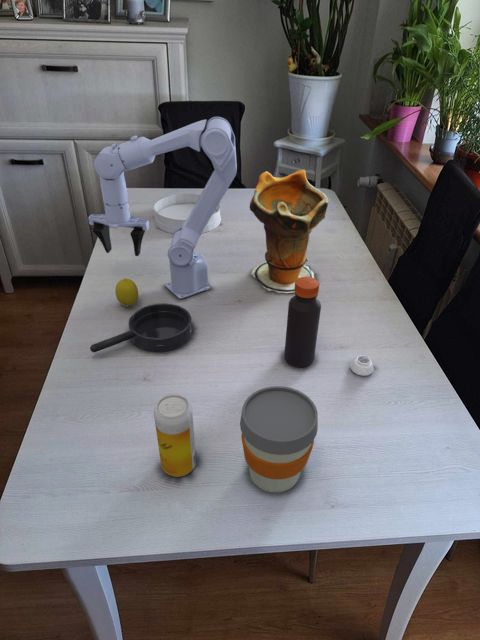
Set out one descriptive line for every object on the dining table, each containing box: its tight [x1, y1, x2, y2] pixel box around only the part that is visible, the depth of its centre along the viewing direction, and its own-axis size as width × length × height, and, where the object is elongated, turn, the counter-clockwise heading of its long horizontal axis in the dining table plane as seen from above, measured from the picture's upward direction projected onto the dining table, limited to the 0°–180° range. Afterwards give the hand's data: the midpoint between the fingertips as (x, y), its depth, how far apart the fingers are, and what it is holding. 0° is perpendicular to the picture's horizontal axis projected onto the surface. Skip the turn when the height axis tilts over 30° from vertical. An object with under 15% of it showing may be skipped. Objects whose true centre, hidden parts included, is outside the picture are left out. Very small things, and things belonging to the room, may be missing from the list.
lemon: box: [114, 277, 139, 307], centre depth 122 cm, size 6×6×8 cm
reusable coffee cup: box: [239, 385, 319, 493], centre depth 81 cm, size 13×13×15 cm
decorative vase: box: [249, 169, 330, 294], centre depth 129 cm, size 21×23×28 cm
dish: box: [153, 193, 221, 235], centre depth 164 cm, size 22×22×5 cm
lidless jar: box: [349, 354, 375, 377], centre depth 108 cm, size 5×3×5 cm
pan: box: [128, 302, 193, 352], centre depth 115 cm, size 14×14×4 cm
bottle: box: [283, 277, 322, 368], centre depth 104 cm, size 7×7×20 cm
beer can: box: [153, 393, 197, 478], centre depth 82 cm, size 6×6×15 cm
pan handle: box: [89, 330, 134, 353], centre depth 108 cm, size 10×2×2 cm, turn 128°
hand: (123, 252), depth 125 cm, fingers open, 7 cm apart
